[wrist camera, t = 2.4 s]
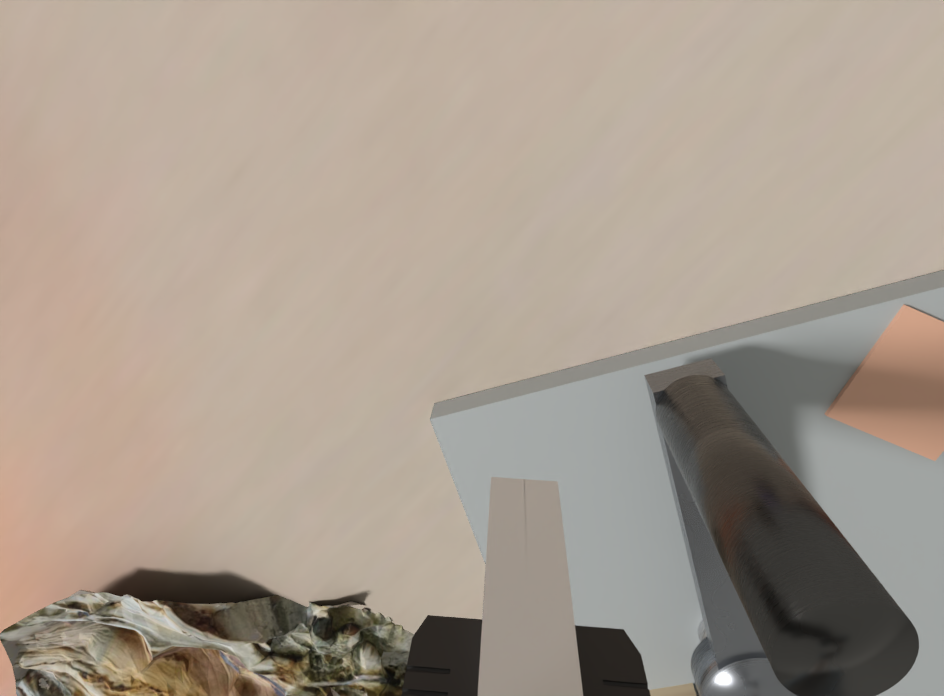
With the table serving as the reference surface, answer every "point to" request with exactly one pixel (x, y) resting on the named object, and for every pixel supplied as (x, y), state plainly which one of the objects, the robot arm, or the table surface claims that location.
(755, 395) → the board
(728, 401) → the lever
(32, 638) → the rock
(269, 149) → the table surface
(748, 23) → the table surface
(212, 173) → the table surface
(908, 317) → the plate
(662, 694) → the beech block
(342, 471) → the table surface
